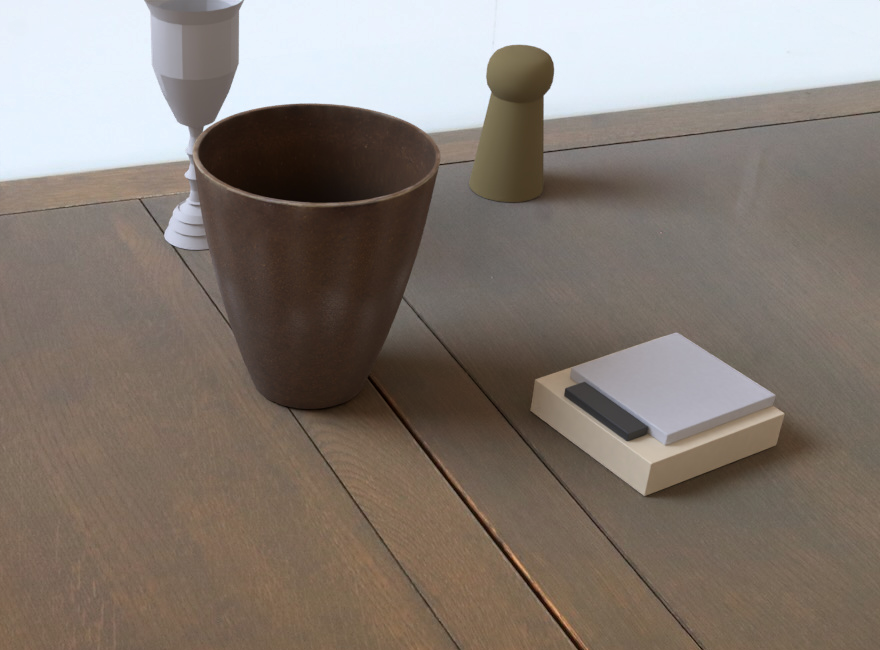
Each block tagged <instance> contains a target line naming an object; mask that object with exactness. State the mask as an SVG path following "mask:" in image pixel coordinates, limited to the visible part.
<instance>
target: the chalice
mask: <svg viewBox="0 0 880 650" xmlns="http://www.w3.org/2000/svg"><path fill="white" fill-rule="evenodd" d="M143 1H144V2H145V5H146V7H147V8H148V10H149V12H150V16H149V17H150V43H151V44H150V48H151V66H152V69H153V72H154V74H155V78H156V80H157V83H158V85H159V88H160V91H161V94H162V96H163V97H164V99H165V101H166V103H167V105H168V107H169V109H170V110H171V112H172V115H173V117H174V118H175V120H176V122H177V123H178V124H180V125H182V126H185V127H187V128H188V132H189V139H188V144H187V147H186V148H185V150H184V151H185V153H186V155H187V156H188V159H189V166H188V169H187V170H186V171H185V173H184V177H185V178H186V179H187V180H188V183H189V187H190V191H189V196H188V197H187V198H186V199H185V200H182V201H181V202H179V203H178V204H177V205H176V207H174V209H173V211H172V216H171V217H170V219H169V221H168V225H167V227H166V229H165V231H164V235H163V236H164V239H165V241H166V242H168V244H170V245H172V246H174V247H176V248H179V249H183V250H184V249H185V250H192V251H201V250H202V251H203V250H209V247H208V243H207V238H206V233H205V228H204V224H203V219H202V213H201V207H200V201H199V195H198V189H197V182H196V175H195V168H194V161H193V153H192V150H193V146H194V144H195V141H196V140H197V138H198V137H199V136H200V134H201V133H202V132H203V131H204V129H205V127H206V126H210V125H212V124H214V122H215V121H216V119H217V117H218V115H219V113H220V111H221V109H222V107H223V105H224V103H225V101H226V99H227V97H228V95H229V93H230V91H231V88H232V85H233V82H234V79H235V76H236V73H237V69H238V67H239V64H240V9H241V8H242V6H243V4H244V1H245V0H143Z"/></svg>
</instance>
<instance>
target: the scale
mask: <svg viewBox="0 0 880 650" xmlns="http://www.w3.org/2000/svg"><path fill="white" fill-rule="evenodd" d="M533 384H534V386H533V390H532V396H531V397H532V398H531V402H530V412H532V413H533V415H535V416H536V417H538V418H539V419H540V420H542V421H543V422H544V423H546V424H547V425H549V426H550V427H551V428H552V429H554V430H555V431H557V432H558V433H559V434H560V435H562V436H563V437H564V438H566V439H567V440H568V441H570V442H571V443H572V444H574V445H575V446H576V447H578V448H579V449H580V450H582V451H583V452H585V453H586V454H587V455H588V456H590V457H591V458H592V459H594V460H595V461H597V463H599V464H601V465H602V466H603V467H605V468H606V469H607V470H609V471H610V472H611V473H613V474H614V476H616V477H618V478H619V479H620V480H622V481H623V482H625V483H626V484H627V485H628V486H630V487H631V488H632V489H634V490H635V491H636V492H637V493H639V494H641V495H642V496H643V497H647V496H649V495H651V494H654V493H657V492H660V491H662V490H664V489H668V488H670V487H672V486H674V485H678V484H680V483H682V482H685V481H687V480H690V479H692V478H695V477H698V476H701V475H703V474H706V473H708V472H711V471H713V470H716V469H719V468H721V467H724V466H727V465H729V464H731V463H735V462H736V461H739V460H742V459H744V458H747V457H749V456H753V455H755V454H757V453H760V452H763V451H765V450H768V449H770V448H773V447H775V446H777V444H778V440H779V437H780V432H781V429H782V426H783V422H784V418H785V415H786V414H785V412H783V411H782V410H780V409H778V408H777V407H775V406H774V404H775V401H776V396H777V395H776V394H775V393H773V392H772V391H770V390H769V389H767V388H765V387H764V386H762V384H761V385H760V384H759V383H757V382H756V381H755V380H753V379H751V378H750V377H748V376H747V375H745V374H743V373H742V372H740V371H738V370H737V369H735V368H734V367H733V366H731V365H729V364H728V363H726V362H724V361H723V360H721V359H720V358H718V357H717V356H715V355H713V354H712V353H711V352H709V351H707V350H706V349H704V348H703V347H701V346H700V345H698V344H697V343H695V342H693V341H691V340H690V339H688V338H687V337H686V336H684V335H682V334H681V333H679V332H678V331H677V332H673V333H670V334H667V335H664V336H663V335H662V336H660V337H657V338H654V339H651V340H648V341H645V342H642V343H639V344H637V345H633V346H630V347H627V348H624V349H621V350H617V351H615V352H612V353H609V354H607V355H604V356H603V355H602V356H601V357H598V358H595V359H592V360H588V361H585V362H583V363H580V364H577V365H574V366H571V367H568V368H564V369H561V370H559V371H556V372H553V373H550V374H547V375H544V376H541V377H538V378H535V379H534V383H533Z"/></svg>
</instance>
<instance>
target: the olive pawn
mask: <svg viewBox="0 0 880 650" xmlns="http://www.w3.org/2000/svg"><path fill="white" fill-rule="evenodd" d="M554 63H555V62H554V61H553V58H552V56H551V55H550V53H548V52H547V51H546V50H544V49H542V48H540V47H537V46H533V45H528V44H511V45H506V46H503V47H500V48H498V49H496V50H495V51H494V52H493V53H492V55H491V56H490V57H489V60H488V63H487V67H486V73H485V74H486V75H485V79H486V83H487V84H486V85H487V87H488V88H489V91H490V96H489V100H488V104H487V109H486V112H485V116H484V120H483V124H482V130H481V132H480V137H479V139H478V140H479V141H478V144H477V149H476V153H475V156H474V161H473V165H472V168H471V174H470V178H469V182H468V187H469V189H470V190H471V191H472V192H473V193H474V194H476V195H477V196H479V197H481V198H484V199H486V200H491V201H495V202H501V203H522V202H528V201H531V200H534V199H536V198H538V197H539V196H541V194H542V193H543V192H544V154H545V153H544V151H545V150H544V146H545V145H544V144H545V143H544V141H545V140H544V139H545V138H544V137H545V136H544V133H545V132H544V129H545V128H544V123H545V121H544V120H545V118H544V117H545V116H544V111H545V108H544V105H545V103H544V102H545V99H544V98H545V95H546V94H547V93H548V92H549V91H550V90H551V87H552V86H553V82H554V78H555V64H554Z"/></svg>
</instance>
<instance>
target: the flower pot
mask: <svg viewBox="0 0 880 650" xmlns="http://www.w3.org/2000/svg"><path fill="white" fill-rule="evenodd" d="M192 153H193V161H194V168H195V175H196V182H197V189H198V195H199V201H200V207H201V213H202V219H203V224H204V228H205V233H206V238H207V243H208V247H209V249H208V251H209V255H210V259H211V264H212V268H213V271H214V275H215V279H216V282H217V285H218V290H219V293H220V296H221V300H222V304H223V307H224V310H225V313H226V316H227V318H228V319H227V320H228V322H229V324H230V329H231V330H232V334H233V336H234V339H235V342H236V344H237V347H238V349H239V352H240V355H241V357H242V360H243V362H244V365H245V368H246V369H247V371H248V374H249V376H250V378H251V381H252V383H253V384H254V387H255V389H256V391H258V392H259V394H260V395H262V396H263V397H265V398H266V399H267V400H269V401H271V402H273V403H276V404H279V405H281V406H284V407H289V408H295V409H302V410H303V409H305V410H316V409H317V410H318V409H319V410H320V409H326V408H331V407H334V406H339V405H341V404H344V403H346V402H349V401H350V400H352V399H354V398H355V397H356V396H357V395H358V394H360V392H361V391H362V389H363V387H364V385H365V383H366V382H367V381H368V378H369V376H370V374H371V372H372V370H373V367H374V366H375V364H376V361H377V359H378V357H379V355H380V354H381V351H382V349H383V346H384V344H385V342H386V340H387V337H388V335H389V333H390V330H391V328H392V327H393V326H392V325H393V323H394V321H395V318H396V316H397V313H398V311H399V308H400V305H401V303H402V299H403V297H404V294H405V292H406V289H407V286H408V283H409V280H410V277H411V274H412V271H413V268H414V265H415V262H416V259H417V257H418V252H419V249H420V245H421V242H422V238H423V235H424V231H425V227H426V224H427V220H428V216H429V215H428V214H429V211H430V208H431V203H432V199H433V193H434V191H435V190H434V189H435V185H436V181H437V177H438V172H439V168H440V164H441V151H440V149H439V146H438V144H437V143H436V142H435V140H434V138H433V137H431V136H430V135H429V134H428V133H427V132H426V131H424V130H423V129H421V128H420V127H418V126H417V125H414V124H413V123H411V122H409V121H408V120H404V119H402V118H399V117H397V116H394V115H392V114H388V113H385V112H381V111H377V110H374V109H369V108H364V107H360V106H359V107H358V106H352V105H345V104H335V103H318V102H317V103H315V102H314V103H313V102H311V103H287V104H285V103H284V104H277V105H269V106H262V107H258V108H253V109H252V108H251V109H248V110H244V111H241V112H237V113H234V114H231V115H229V116H227V117H225V118H222V119H220V120H218V121H216V122H215V123H214V122H213V123H212V124H210V125H209V126H208V127H207V128H206V129H203V132H202V133H201V134H200V136H199V137H198V138H197V140H196V141H195V144H194V146H193V150H192Z"/></svg>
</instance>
